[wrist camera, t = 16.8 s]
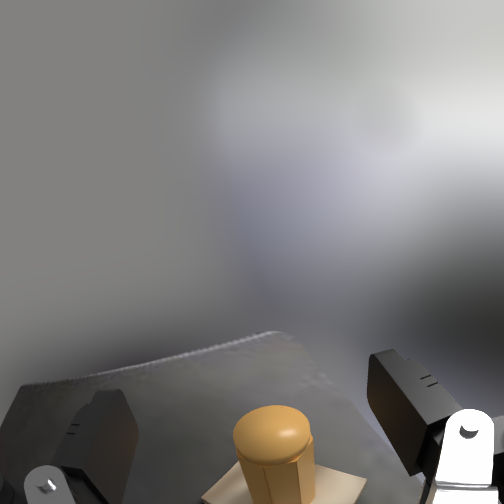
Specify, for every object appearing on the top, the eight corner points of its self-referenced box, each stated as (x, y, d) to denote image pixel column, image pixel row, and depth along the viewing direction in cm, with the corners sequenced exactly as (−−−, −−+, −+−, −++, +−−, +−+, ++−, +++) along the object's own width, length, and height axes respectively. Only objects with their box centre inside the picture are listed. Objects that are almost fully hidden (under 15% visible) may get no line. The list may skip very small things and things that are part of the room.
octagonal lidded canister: (242, 502, 25) (217, 439, 22) (275, 465, 29) (262, 397, 26) (292, 526, 21) (282, 469, 18) (324, 484, 25) (323, 417, 22)
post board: (204, 503, 26) (181, 462, 24) (258, 449, 33) (247, 403, 31) (320, 558, 17) (321, 530, 15) (365, 485, 25) (374, 440, 23)
